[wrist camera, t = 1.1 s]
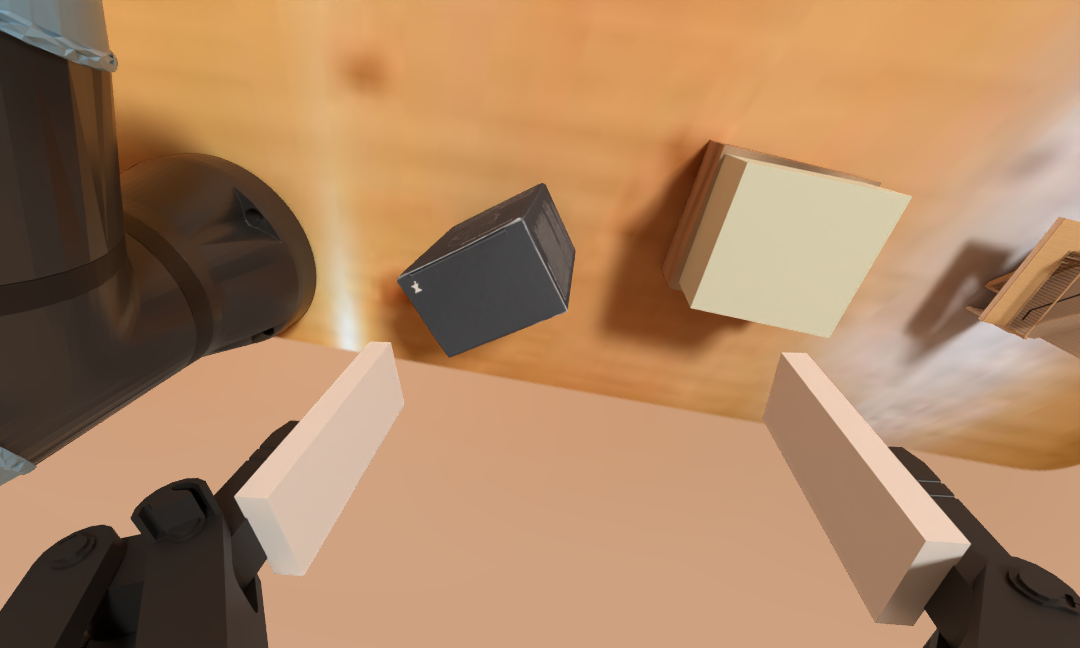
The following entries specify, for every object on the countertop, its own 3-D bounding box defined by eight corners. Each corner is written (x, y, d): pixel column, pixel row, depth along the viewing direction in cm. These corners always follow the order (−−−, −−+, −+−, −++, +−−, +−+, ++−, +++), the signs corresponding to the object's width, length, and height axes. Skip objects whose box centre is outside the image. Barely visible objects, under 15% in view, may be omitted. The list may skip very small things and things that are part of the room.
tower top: (678, 282, 28) (690, 308, 24) (725, 153, 24) (747, 162, 21) (799, 308, 28) (829, 338, 24) (865, 182, 24) (912, 196, 20)
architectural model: (939, 300, 30) (1031, 354, 24) (1009, 204, 27) (1139, 236, 21) (986, 312, 30) (1092, 369, 24) (1062, 217, 27) (1209, 253, 21)
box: (488, 290, 34) (446, 361, 25) (451, 226, 32) (391, 276, 23) (578, 251, 32) (570, 314, 22) (545, 179, 29) (521, 215, 20)
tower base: (660, 267, 32) (668, 288, 28) (708, 139, 27) (725, 144, 24) (778, 296, 32) (801, 320, 28) (844, 172, 27) (881, 182, 24)
